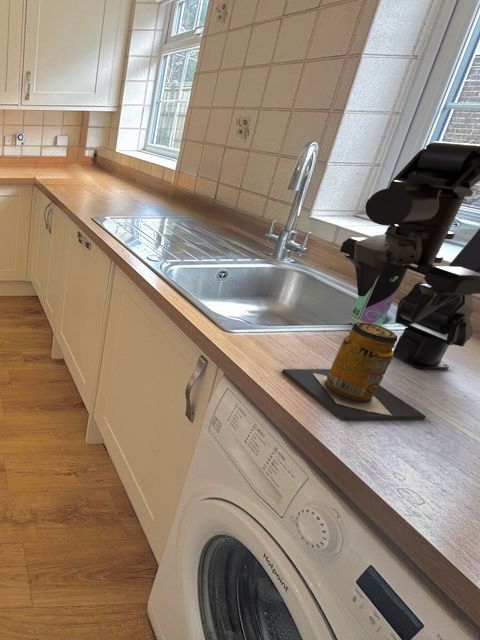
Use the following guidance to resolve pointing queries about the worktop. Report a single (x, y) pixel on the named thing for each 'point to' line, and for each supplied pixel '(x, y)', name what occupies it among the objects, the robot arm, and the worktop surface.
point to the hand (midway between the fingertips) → (386, 307)
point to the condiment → (360, 367)
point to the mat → (345, 413)
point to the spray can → (379, 296)
